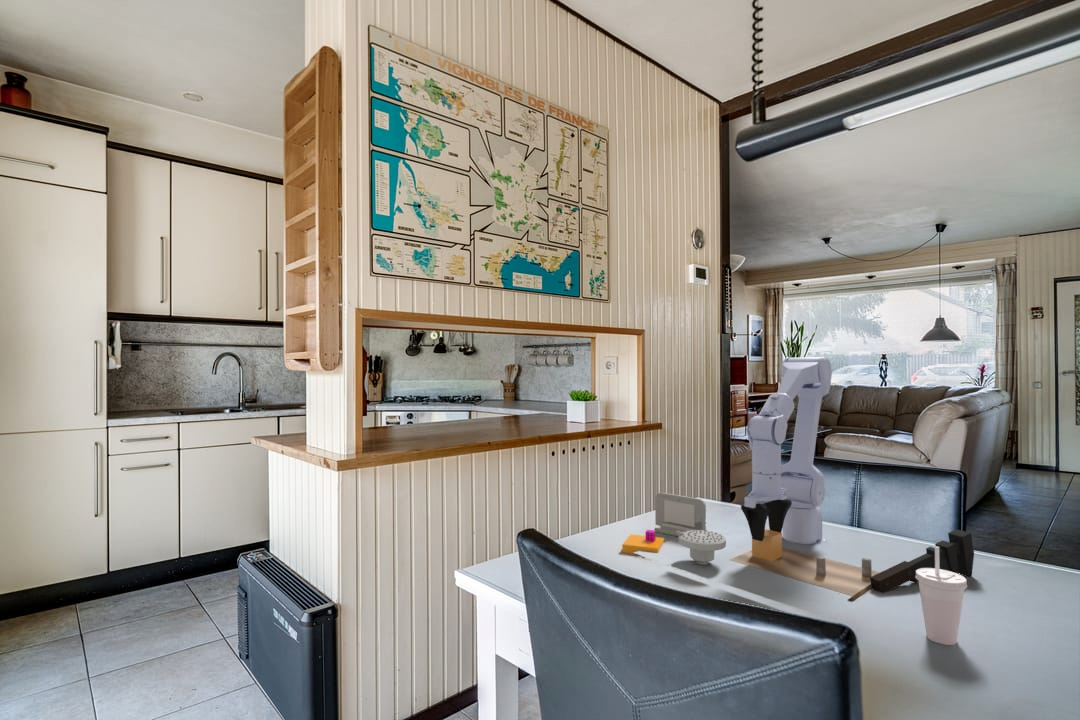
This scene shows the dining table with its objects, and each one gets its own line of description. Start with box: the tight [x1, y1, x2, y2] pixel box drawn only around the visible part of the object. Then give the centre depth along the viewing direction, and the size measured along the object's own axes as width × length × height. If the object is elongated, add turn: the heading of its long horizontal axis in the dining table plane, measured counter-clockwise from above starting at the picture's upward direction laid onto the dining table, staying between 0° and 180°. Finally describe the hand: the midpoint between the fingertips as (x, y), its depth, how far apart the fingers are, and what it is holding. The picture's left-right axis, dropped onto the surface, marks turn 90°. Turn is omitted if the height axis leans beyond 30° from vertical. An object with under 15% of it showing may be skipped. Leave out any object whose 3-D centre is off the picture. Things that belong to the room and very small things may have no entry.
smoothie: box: [916, 546, 968, 646], centre depth 84 cm, size 6×6×14 cm
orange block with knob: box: [621, 529, 665, 555], centre depth 126 cm, size 8×8×4 cm
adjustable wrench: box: [870, 529, 975, 594], centre depth 106 cm, size 8×3×25 cm
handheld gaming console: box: [653, 492, 707, 538], centre depth 138 cm, size 13×9×10 cm
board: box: [729, 546, 880, 602], centre depth 112 cm, size 16×24×4 cm, turn 40°
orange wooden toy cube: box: [751, 528, 783, 561], centre depth 118 cm, size 4×4×5 cm
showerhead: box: [676, 529, 727, 565], centre depth 114 cm, size 9×7×10 cm
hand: (766, 536), depth 118 cm, fingers open, 7 cm apart
